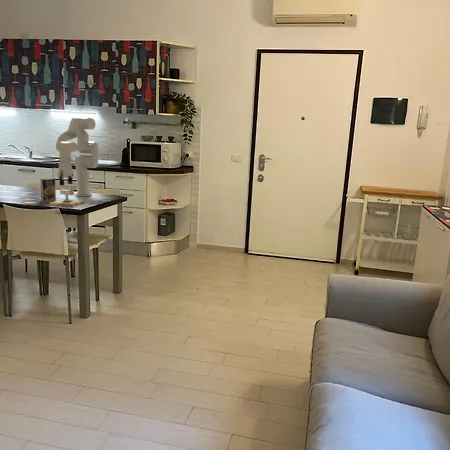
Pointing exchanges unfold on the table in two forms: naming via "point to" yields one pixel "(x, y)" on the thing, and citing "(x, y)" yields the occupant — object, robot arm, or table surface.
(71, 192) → the t key
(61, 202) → the key plate
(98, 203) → the table surface
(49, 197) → the coffee box
